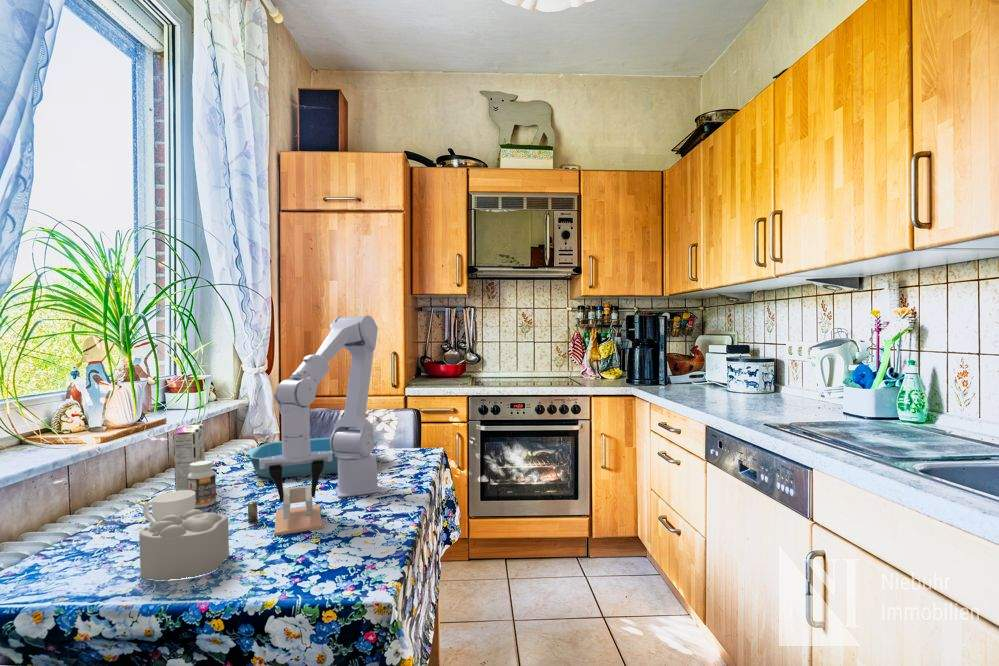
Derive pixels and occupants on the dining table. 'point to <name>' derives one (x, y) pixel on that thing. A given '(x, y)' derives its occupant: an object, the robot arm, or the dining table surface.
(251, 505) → the stand
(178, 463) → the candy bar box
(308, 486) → the link
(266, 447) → the casserole dish
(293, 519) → the trivet
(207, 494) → the pill bottle
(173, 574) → the lumpy-topped squat cylinder
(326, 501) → the dining table surface
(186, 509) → the cup
